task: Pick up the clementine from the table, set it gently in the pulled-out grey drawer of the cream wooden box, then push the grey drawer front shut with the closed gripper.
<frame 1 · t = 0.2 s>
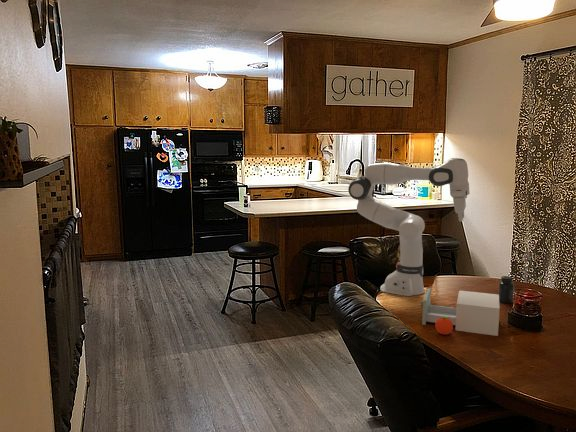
hand: (461, 219, 229), 39 cm above the table, tool pointing down, fingers open, 8 cm apart
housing: (476, 324, 199), on the table
grey drawer: (440, 307, 204), point 6 cm above the table, slide at 12.0 cm
supplement bottle: (505, 301, 227), on the table
clementine: (444, 334, 191), on the table
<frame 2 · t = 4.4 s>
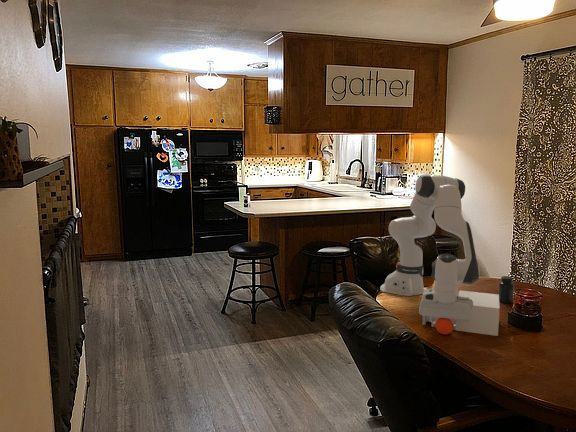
hand: (444, 327, 190), 2 cm above the table, tool pointing down, fingers closed on clementine, 7 cm apart
clementine: (444, 334, 191), on the table, touching gripper
everything else where it was.
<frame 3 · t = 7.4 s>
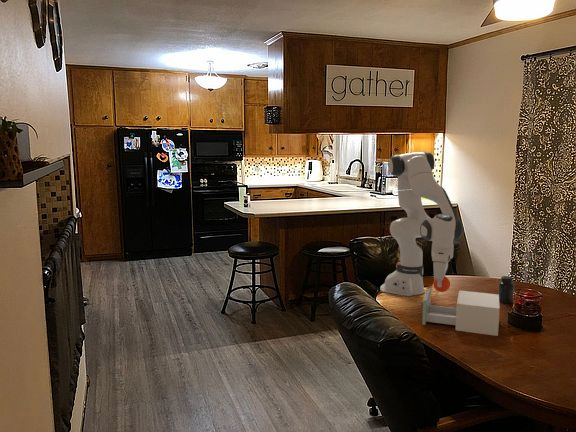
hand: (440, 283, 202), 16 cm above the table, tool pointing down, fingers closed on clementine, 7 cm apart
clementine: (440, 291, 203), point 13 cm above the table, touching gripper
everything else where it was.
when the fingers open (6 cm above the table, at t = 10.2 s): clementine stays where it is, resting on grey drawer.
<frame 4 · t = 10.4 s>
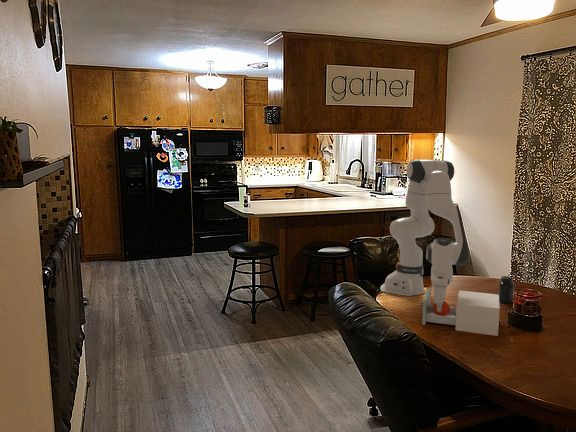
hand: (440, 307, 204), 6 cm above the table, tool pointing down, fingers open, 8 cm apart
grey drawer: (440, 307, 204), point 6 cm above the table, slide at 12.0 cm, touching clementine
clementine: (439, 316, 205), point 2 cm above the table, touching grey drawer
everything else where it was.
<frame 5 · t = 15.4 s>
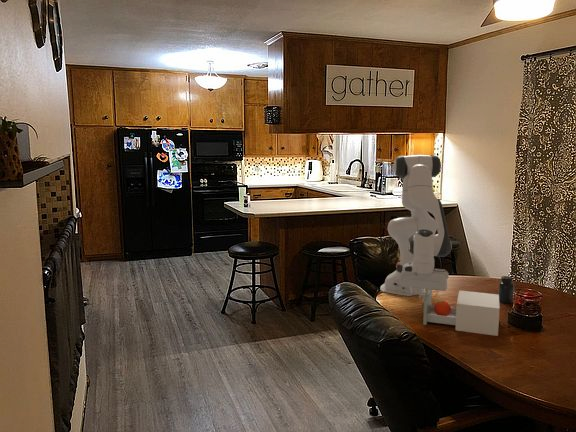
hand: (422, 298, 206), 9 cm above the table, tool pointing down, fingers closed
grey drawer: (441, 307, 203), point 6 cm above the table, slide at 11.6 cm, touching clementine, gripper
everything else where it was.
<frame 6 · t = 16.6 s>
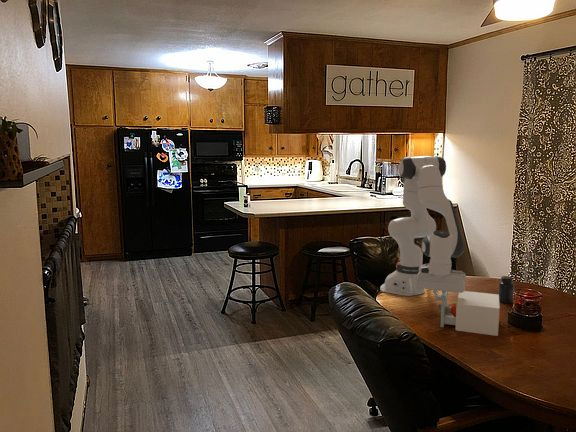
hand: (439, 299, 203), 9 cm above the table, tool pointing down, fingers closed
grey drawer: (458, 309, 201), point 6 cm above the table, slide at 4.6 cm, touching clementine, gripper
clementine: (457, 318, 202), point 2 cm above the table, touching grey drawer
everything else where it was.
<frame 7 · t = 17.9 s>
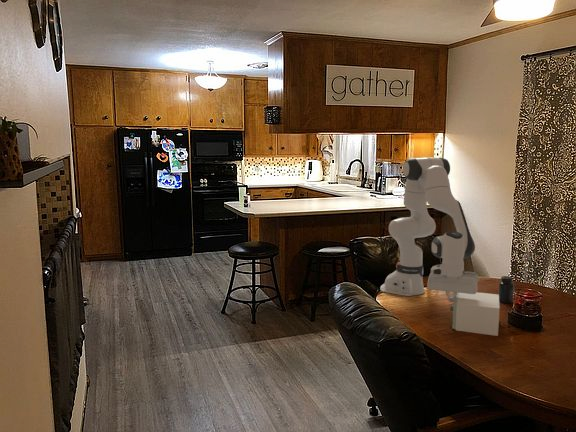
hand: (451, 301, 201), 9 cm above the table, tool pointing down, fingers closed
grey drawer: (470, 310, 199), point 6 cm above the table, slide at -0.1 cm, touching clementine, gripper
clementine: (469, 320, 200), point 2 cm above the table, touching grey drawer
everything else where it was.
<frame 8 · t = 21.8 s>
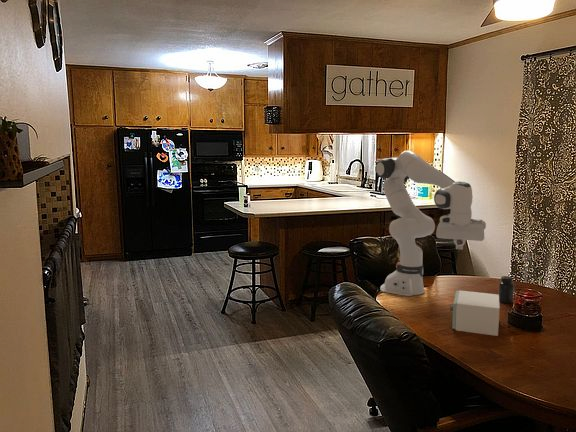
hand: (459, 249, 210), 29 cm above the table, tool pointing down, fingers closed
grey drawer: (470, 310, 199), point 6 cm above the table, slide at 0.0 cm, touching clementine
everything else where it was.
at the end: grey drawer slide at 0.0 cm; clementine inside the target area on the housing (2.4 cm from its centre), point 1.6 cm above the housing's base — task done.
